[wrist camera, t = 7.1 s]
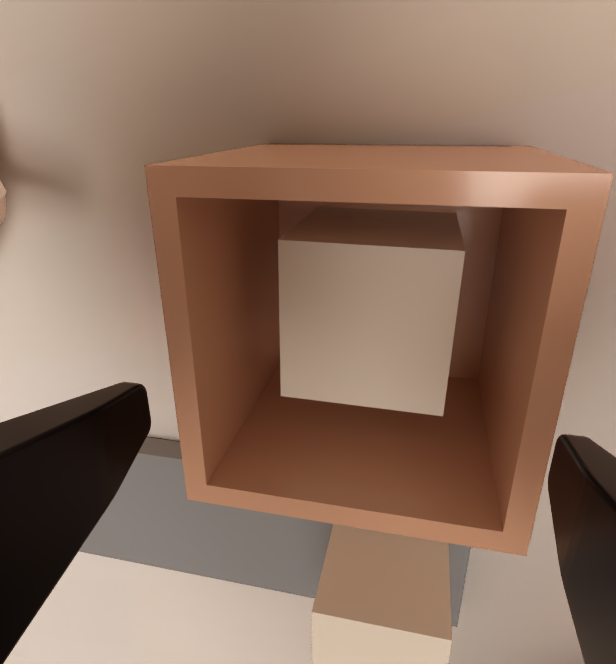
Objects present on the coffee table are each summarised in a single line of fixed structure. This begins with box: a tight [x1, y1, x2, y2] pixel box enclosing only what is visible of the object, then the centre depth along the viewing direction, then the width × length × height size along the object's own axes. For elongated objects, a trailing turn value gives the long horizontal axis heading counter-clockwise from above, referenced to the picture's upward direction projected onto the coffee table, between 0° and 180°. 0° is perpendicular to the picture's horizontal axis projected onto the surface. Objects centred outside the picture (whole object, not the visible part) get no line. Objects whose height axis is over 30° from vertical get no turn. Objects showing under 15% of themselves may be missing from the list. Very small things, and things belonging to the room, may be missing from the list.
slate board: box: [79, 437, 470, 627], centre depth 23 cm, size 7×20×1 cm, turn 91°
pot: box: [145, 144, 614, 556], centre depth 14 cm, size 8×8×8 cm
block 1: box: [278, 207, 465, 416], centre depth 15 cm, size 4×4×5 cm
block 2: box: [312, 524, 452, 664], centre depth 19 cm, size 4×4×5 cm
